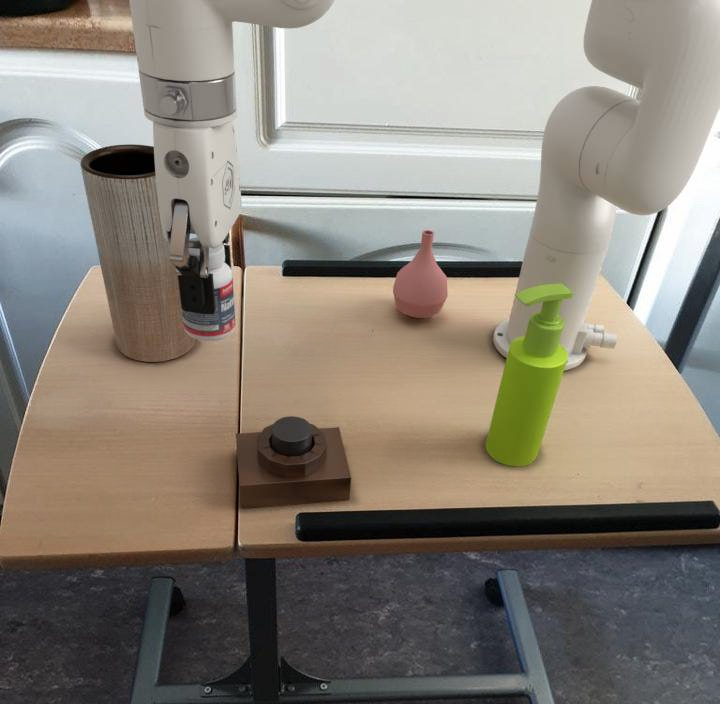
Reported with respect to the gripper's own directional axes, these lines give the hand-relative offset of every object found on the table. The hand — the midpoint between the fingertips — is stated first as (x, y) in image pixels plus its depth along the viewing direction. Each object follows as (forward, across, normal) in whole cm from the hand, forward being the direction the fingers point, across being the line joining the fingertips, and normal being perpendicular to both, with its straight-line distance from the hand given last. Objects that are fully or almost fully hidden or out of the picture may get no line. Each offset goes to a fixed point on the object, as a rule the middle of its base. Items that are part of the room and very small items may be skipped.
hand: (207, 294), depth 70 cm
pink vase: (+16, +29, -21) cm, 39 cm away
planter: (+16, +14, +12) cm, 24 cm away
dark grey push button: (+11, -8, -10) cm, 17 cm away
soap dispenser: (+16, +1, -33) cm, 37 cm away
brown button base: (+16, -8, -10) cm, 20 cm away
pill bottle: (+4, 0, 0) cm, 4 cm away
